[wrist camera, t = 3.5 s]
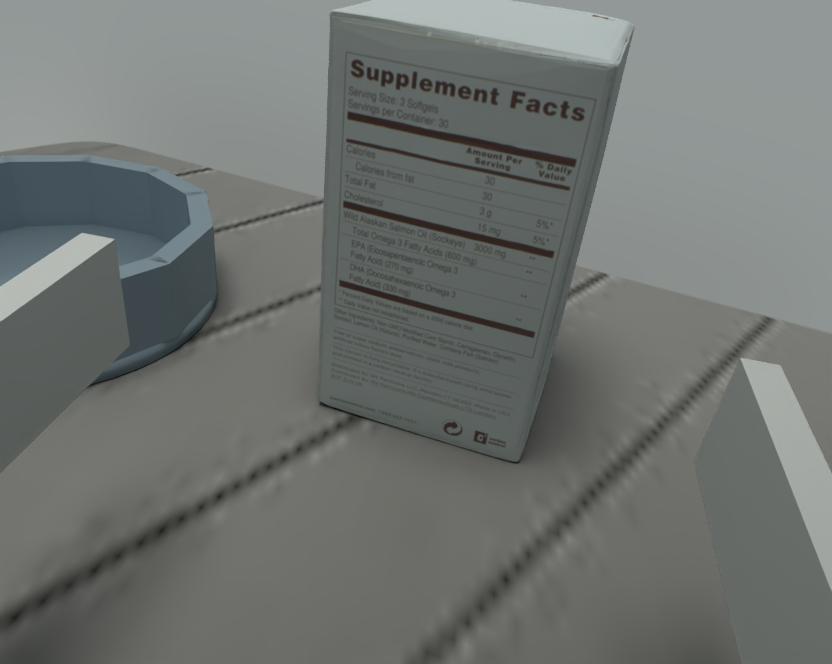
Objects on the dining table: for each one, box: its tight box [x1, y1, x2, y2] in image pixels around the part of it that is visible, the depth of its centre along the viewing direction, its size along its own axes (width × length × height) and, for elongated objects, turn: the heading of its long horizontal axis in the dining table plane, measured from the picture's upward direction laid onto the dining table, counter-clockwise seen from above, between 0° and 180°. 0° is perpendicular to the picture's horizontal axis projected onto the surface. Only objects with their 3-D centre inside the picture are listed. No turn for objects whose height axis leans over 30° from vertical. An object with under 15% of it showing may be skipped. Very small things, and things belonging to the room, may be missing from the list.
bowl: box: [0, 155, 217, 385], centre depth 26 cm, size 13×13×4 cm
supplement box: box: [318, 0, 634, 462], centre depth 22 cm, size 7×7×13 cm
